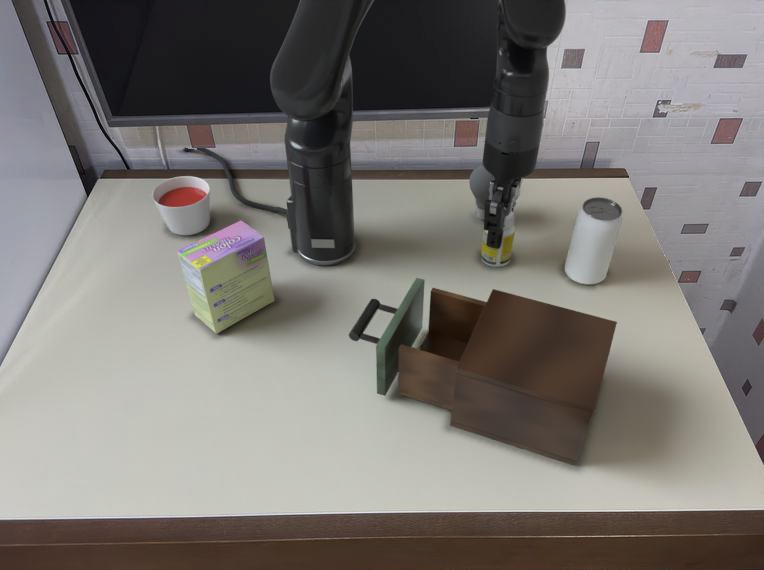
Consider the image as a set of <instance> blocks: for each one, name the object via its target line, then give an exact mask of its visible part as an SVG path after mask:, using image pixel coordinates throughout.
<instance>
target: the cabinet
mask: <svg viewBox="0 0 764 570" xmlns="http://www.w3.org/2000/svg"><path fill="white" fill-rule="evenodd" d="M486 302H487V303H486V305H485V307H484V309H483V311H482V314H481V316H480V318H479V320H478V322H477V324H476V327H475V329H474V331H473V333H472V335H471V337H470V340H469V342H468V344H467V346H466V348H465V350H464V353H463V355H462V357H461V359H460V361H459V363H458V366H457V368H456V376H455V385H454V394H453V404H452V410H451V413H450V414H451V415H450V423H449V426H450V427H453V428H456V429H459V430H463V431H465V432H469V433H471V434H475V435H479V436H481V437H484V438H487V439H490V440H494V441H496V442H499V443H504V444H506V445H509V446H512V447H514V448H519V449H521V450H525V451H528V452H531V453H534V454H538V455H541V456H544V457H546V458H550V459H552V460H556V461H559V462H562V463H565V464H569V465H571V466H574V467H575V466H576V464H577V461H578V458H579V455H580V452H581V450H582V447H583V444H584V441H585V438H586V435H587V432H588V430H589V427H590V424H591V420H592V419H593V416H594V413H595V410H596V406H597V403H598V398H599V395H600V391H601V387H602V383H603V379H604V375H605V371H606V367H607V363H608V360H609V355H610V351H611V347H612V344H613V339H614V336H615V331H616V327H617V323H618V322H617V321H616V320H612V319H608V318H604V317H600V316H597V315H594V314H593V315H592V314H589V313H585V312H581V311H577V310H574V309H570V308H566V307H563V306H559V305H555V304H551V303H547V302H544V301H539V300H537V299H533V298H528V297H525V296H521V295H517V294H513V293H510V292H506V291H502V290H499V289H495V288H493V289H492V290H491V292H490V294H489V297H488V298H487V301H486Z"/></svg>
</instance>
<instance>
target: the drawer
mask: <svg viewBox="0 0 764 570" xmlns="http://www.w3.org/2000/svg"><path fill="white" fill-rule="evenodd" d="M425 283H426V281H425V279H424V278H420V277H415V279H414V281H413V283H412V284H411V286H410V287H409V289H408V291H407V293H406V294H405V296H404V298H403V299H402V301H401V303H400V304H399V306H398V307H397V308H396V307H393V306H390V305H386V304H382V303H381V301H380V300H378V299H377V298H371V299H370V301H368V303H367V305H366V306H365V308H364V310H363V311H362V313H361V314H360V316H359V317H358V319H357V320H356V322H355V324H354V326H352V328H351V329H350V332H349V333H348V336H349V339H350V340H352V341H353V342H358V341H360V340H362V341H365V342H369V343H371V344H375V359H376V360H375V363H376V394H378V395H381V396H383V397H386V396H387V394H388V392H389V390H390V388H391V386H392V384H394V383H393V382H394V381H395V379H396V377H397V376H398V377H397V378H398V380H397V393H398V394H400V395H402V396H405V397H409V398H412V399H415V400H419V401H421V402H424V403H428V404H430V405H434V406H437V407H439V408H440V407H441V408H444V409H447V410H450V411H452V404H453V394H454V385H455V376H456V368H457V366H458V363H459V361H460V359H461V357H462V355H463V353H464V350H465V348H466V346H467V344H468V342H469V340H470V337H471V335H472V333H473V331H474V329H475V327H476V324H477V322H478V320H479V318H480V316H481V314H482V311H483V309H484V307H485V305H486V303H487V301H484V300H480V299H476V298H473V297H469V296H465V295H463V294H459V293H454V292H452V291H448V290H444V289H440V288H436V287H431V289H430V298H429V311H428V312H429V313H428V316H429V317H428V328H427V330H428V331H427V334H426V336H425V337H424V339H423V341H422V343H421V345H420V347H419V348H415V347H413V346H414V344H415V342H416V340H417V338H418V336H419V335H420V333H421V330H422V329H423V320H424V301H425ZM378 310H379V311H382V312H386V313H390V314H393V316H392V318H391V320H390V321H389V322H388V324H387V326H386V328H385V330H384V331H383V333H382V335H381V337H377V336H373V335H371V334H366V333H365V331H366V329H368V326H369V325H370V323H371V321H372V320H373V318H374V317H375V316H376V314H377V312H378Z"/></svg>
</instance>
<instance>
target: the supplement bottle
mask: <svg viewBox="0 0 764 570" xmlns="http://www.w3.org/2000/svg"><path fill="white" fill-rule="evenodd" d="M514 222H515V214H514V211H513V212H512V211H511V213H510V214H509V215H508V216H507V217H506V222H505V228H504V231H503V238H502V244H501V247H500V248H499V249H495V248H491V247H488V246H487V245H486V242H487V235H488V230H484V229H483V231H482V239H481V240H482V241H481V250H480V260H481V261H482V262H483V264H485V265H487V266H489V267H492V268H493V267H494V268H499V267H505V266H506V265H508V264H509V263H510V261H511V258H512V251H513V244H514V239H515V232H516V227H515V224H514Z"/></svg>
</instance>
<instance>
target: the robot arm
mask: <svg viewBox="0 0 764 570" xmlns="http://www.w3.org/2000/svg"><path fill="white" fill-rule="evenodd" d="M374 2H375V0H299V3H298V6H297V8H296V11H295V14H294V16H293V19H292V21H291V24H290V26H289V28H288V31H287V33H286V36H285V38H284V40H283V43H282V44H281V47H280V49H279V51H278V53H277V55H276V57H275V59H274V61H273V63H272V66H271V69H270V74H269V83H270V91H271V94H272V96H273V100H274V102H275V104H276V105H277V107H278V108H279V110H280V111H281V112H282V113H283V114H284V115H286V116H287V121H286V127H285V131H284V132H285V133H284V148H285V156H286V157H285V158H286V164H287V171H288V173H287V174H288V179H289V180H288V181H289V189H290V196H289V197H288V198H287V200H286V208H283V207H280V206H272V205H268V204H262V203H260V202H259V203H258V202H255V201H252V200H249V199H246V198H245V197H243V196H242V195H241V194H239V192H238V191H237V189H236V185H235V181H234V177H233V176H232V173H231V171H230V168H229V165H228V163H227V162H226V160H225V158H223V157H222V156H220V155H219V154H218V153H216V152H214V151H213V150H210V149H209V148H206V147H204V148H197V150H196V151H200V152H202V153H203V154H204V153H205V154H207V155H208V156H209V157H212V158H213V159H215V160H216V161H218V162H219V163H220V164H221V166H222V168H223V171H224V173H225V176H226V178H227V180H228V184H229V188H230V192H231V194H232V195H233V197H234V198H235V199H236V200H237V201H238V202H240V203H242V204H244V205H246V206H249V207H252V208H255V209H259V210H263V211H267V212H272V213H277V214H278V213H279V214H283V215H286V222H287V229H288V230H289V234H290V241H291V248H292V252H293V253H296V254H298V256H299V257H300V258H301V259H302V260H303V261H305V262H307V263H309V264H312V265H316V266H333V265H337V264H341V263H343V262H345V261H347V260H348V259H350V258H351V257H352V256H353V254H354V253H355V251H356V235H355V217H354V216H355V215H354V213H355V212H354V194H353V193H354V191H353V171H352V155H351V154H352V151H351V150H352V149H351V141H352V140H351V139H352V132H353V123H354V109H353V108H354V105H353V103H354V101H353V99H354V97H353V95H354V94H353V67H352V62H351V57H350V52H351V50H352V47H353V44H354V41H355V38H356V36H357V33H358V32H359V30H360V29H359V28H360V26H361V25H362V23H363V20H364V19H365V17H366V15H367V14H368V11H369V10H370V8H371V7H372V5H373V3H374ZM497 4H498V5H497V13H496V15H497V16H496V64H495V71H494V75H493V76H494V77H493V82H492V92H491V99H490V100H491V102H490V107H489V110H488V114H487V119H486V128H485V137H484V145H483V154H482V164H483V166H484V168H485V169H486V170H487V171H488V172H489V173H491V174H492V175H493V176H494V178H495V180H493V179H492V180H491V182H490V187H489V192H490V195H489V199H487V200H486V201H485V213H484V220H483V231H484V230H488V235H487V242H486V245H487V246H488V247H491V248H495V249H499V248H500V247H501V244H502V238H503V231H504V228H505V222H506V217H507V216H508V215H509V214H510V213H511V211H512V212H513V213H514V208H515V207H516V206H517V200H518V199H519V197H520V196H521V188H522V183H523V181H524V178H525V177H528V176H530V175H532V174H533V172H534V171H535V169H536V167H537V163H538V162H537V161H538V156H539V151H540V144H541V139H542V133H543V127H544V117H545V115H544V114H545V107H546V106H545V105H546V99H547V95H548V88H549V81H550V67H549V61H548V47H549V46H551V45H552V44H553V43H554V42H555V41H556V40H557V39H558V38H559V36H560V35H561V33H562V30H563V29H564V26H565V22H566V17H567V9H566V7H567V6H566V0H498V3H497ZM192 150H193V151H195V150H194V149H188V148H186V146H185V147H184V148H183V149H182V151H183V152H184V153H187V152H189V151H192Z"/></svg>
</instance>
